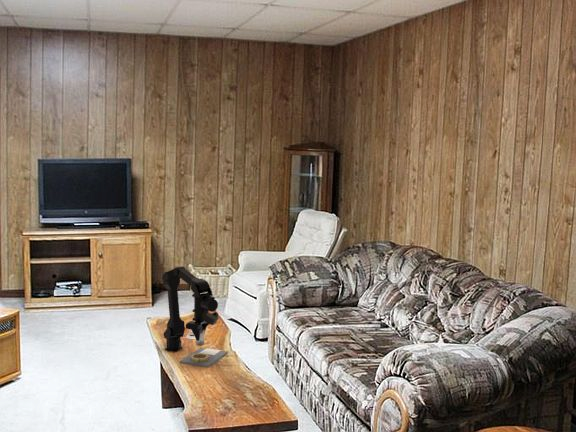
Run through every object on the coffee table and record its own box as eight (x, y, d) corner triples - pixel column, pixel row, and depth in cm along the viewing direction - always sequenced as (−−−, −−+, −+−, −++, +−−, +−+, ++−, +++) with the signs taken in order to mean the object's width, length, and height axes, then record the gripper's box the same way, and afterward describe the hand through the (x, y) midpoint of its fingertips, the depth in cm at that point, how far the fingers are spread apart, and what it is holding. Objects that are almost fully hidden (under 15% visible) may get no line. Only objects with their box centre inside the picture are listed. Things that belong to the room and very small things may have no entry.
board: (179, 363, 322) (179, 361, 322) (200, 349, 343) (200, 347, 343) (208, 367, 317) (208, 365, 317) (227, 353, 338) (227, 351, 338)
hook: (208, 330, 358) (197, 323, 356) (195, 347, 361) (184, 340, 359) (209, 323, 365) (198, 317, 363) (196, 340, 368) (185, 333, 366)
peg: (201, 346, 322) (202, 331, 321) (194, 345, 323) (194, 330, 322) (205, 343, 326) (205, 329, 325) (198, 342, 327) (198, 328, 326)
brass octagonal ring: (187, 360, 323) (187, 357, 323) (195, 355, 331) (195, 352, 330) (203, 363, 320) (203, 360, 320) (211, 357, 328) (211, 354, 328)
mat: (199, 353, 334) (199, 352, 334) (206, 348, 341) (206, 348, 341) (214, 355, 331) (214, 355, 331) (220, 350, 339) (221, 350, 339)
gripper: (207, 313, 311) (206, 347, 313) (224, 304, 328) (223, 336, 330) (185, 311, 314) (184, 344, 316) (203, 302, 332) (202, 333, 334)
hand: (200, 339), depth 324 cm, fingers closed on peg, 4 cm apart
